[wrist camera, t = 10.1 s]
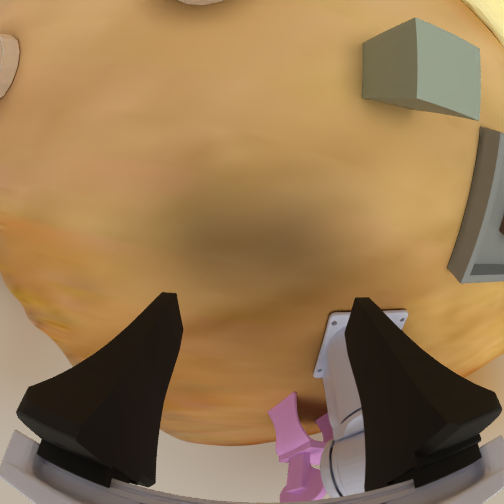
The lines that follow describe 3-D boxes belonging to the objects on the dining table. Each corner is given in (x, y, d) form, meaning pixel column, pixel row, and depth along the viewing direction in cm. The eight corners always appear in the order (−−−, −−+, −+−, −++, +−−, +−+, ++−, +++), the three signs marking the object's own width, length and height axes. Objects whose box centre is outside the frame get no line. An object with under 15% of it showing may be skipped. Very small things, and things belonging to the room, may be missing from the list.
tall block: (413, 109, 14) (479, 120, 8) (361, 98, 15) (416, 98, 8) (415, 57, 12) (479, 48, 6) (362, 43, 13) (415, 17, 6)
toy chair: (314, 423, 35) (322, 512, 22) (263, 414, 33) (262, 514, 20) (352, 398, 31) (370, 500, 18) (298, 387, 29) (307, 507, 16)
